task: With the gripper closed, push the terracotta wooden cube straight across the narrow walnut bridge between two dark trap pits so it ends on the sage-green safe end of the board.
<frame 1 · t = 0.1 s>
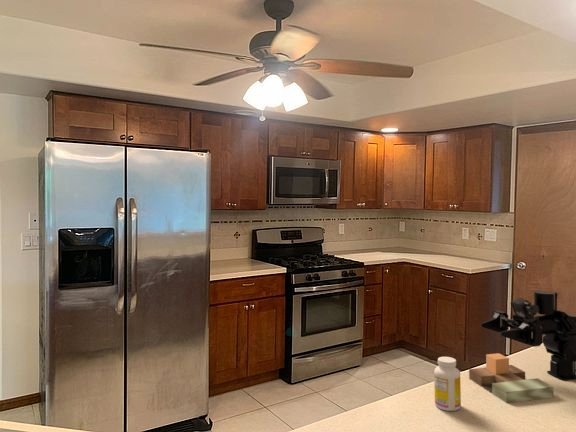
hand: (491, 329, 132), 17 cm above the countertop, tool horizontal, fingers open, 9 cm apart
supplement bottle: (447, 407, 119), on the countertop
trap board: (509, 387, 130), on the countertop
block: (497, 370, 135), point 3 cm above the countertop, touching trap board
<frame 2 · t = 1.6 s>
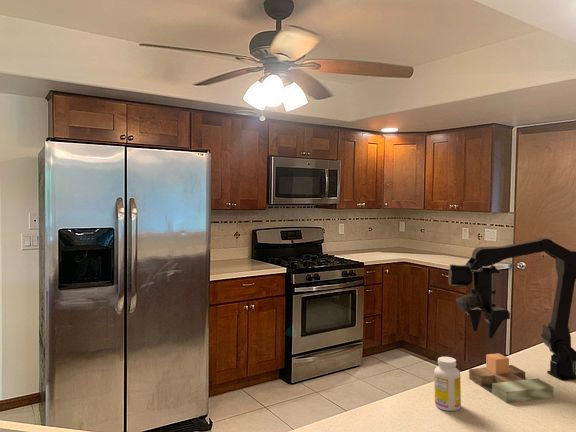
hand: (482, 334, 142), 12 cm above the countertop, tool pointing down, fingers open, 8 cm apart
nothing on the countertop moved.
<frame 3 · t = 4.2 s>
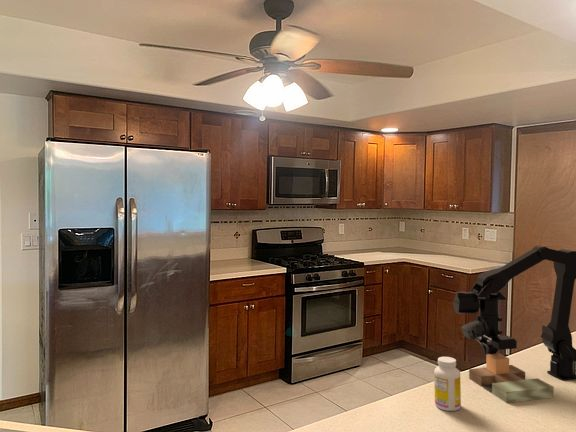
hand: (489, 362, 139), 4 cm above the countertop, tool pointing down, fingers closed
block: (497, 370, 135), point 3 cm above the countertop, touching gripper, trap board
everything else where it was.
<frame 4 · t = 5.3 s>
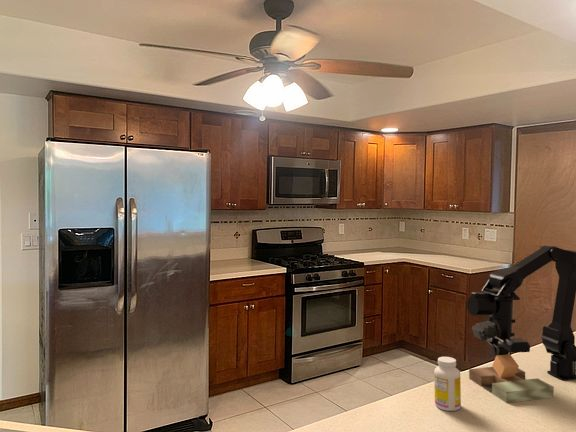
hand: (498, 364, 134), 6 cm above the countertop, tool pointing down, fingers closed, pressing on block
block: (503, 371, 132), point 4 cm above the countertop, tilted 29°, touching gripper, trap board
everything else where it was.
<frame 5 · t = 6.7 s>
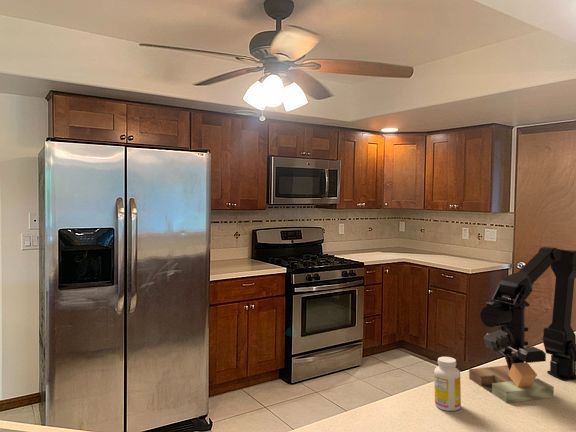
hand: (513, 375, 128), 4 cm above the countertop, tool pointing down, fingers closed
block: (519, 380, 126), point 4 cm above the countertop, tilted 27°, touching gripper, trap board
everything else where it was.
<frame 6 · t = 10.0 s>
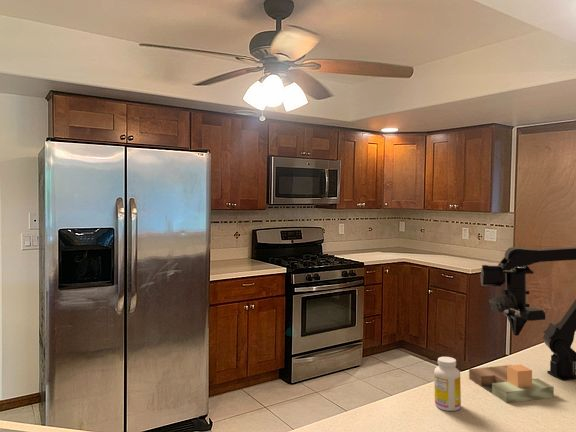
hand: (516, 335, 141), 12 cm above the countertop, tool pointing down, fingers closed
block: (519, 383, 126), point 3 cm above the countertop, touching trap board
everything else where it was.
at the end: block inside the target area on the trap board (1.4 cm from its centre), point 3.0 cm above the trap board's base; block tilted 0° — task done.
